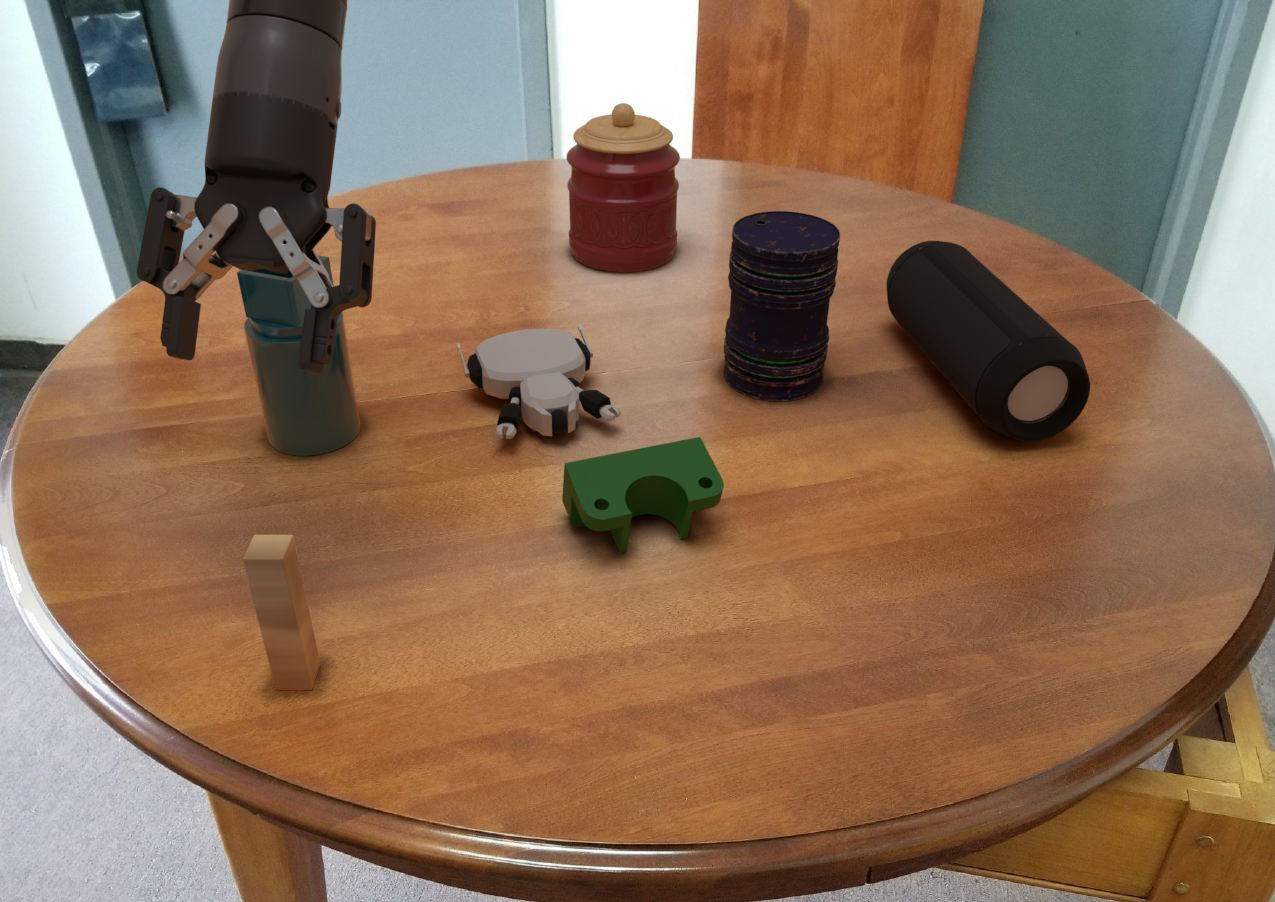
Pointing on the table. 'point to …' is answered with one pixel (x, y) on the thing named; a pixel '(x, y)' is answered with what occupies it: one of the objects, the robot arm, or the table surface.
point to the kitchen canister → (623, 192)
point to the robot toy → (537, 380)
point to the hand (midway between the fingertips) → (245, 364)
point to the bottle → (296, 368)
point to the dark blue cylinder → (779, 304)
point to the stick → (282, 611)
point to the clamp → (641, 487)
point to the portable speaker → (987, 342)
